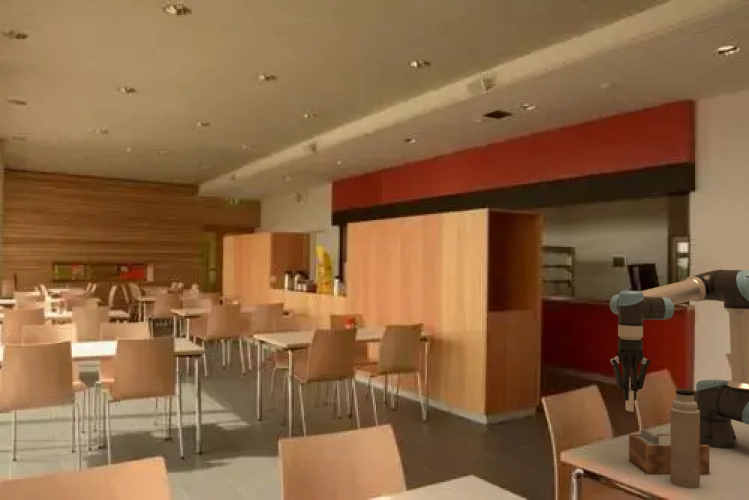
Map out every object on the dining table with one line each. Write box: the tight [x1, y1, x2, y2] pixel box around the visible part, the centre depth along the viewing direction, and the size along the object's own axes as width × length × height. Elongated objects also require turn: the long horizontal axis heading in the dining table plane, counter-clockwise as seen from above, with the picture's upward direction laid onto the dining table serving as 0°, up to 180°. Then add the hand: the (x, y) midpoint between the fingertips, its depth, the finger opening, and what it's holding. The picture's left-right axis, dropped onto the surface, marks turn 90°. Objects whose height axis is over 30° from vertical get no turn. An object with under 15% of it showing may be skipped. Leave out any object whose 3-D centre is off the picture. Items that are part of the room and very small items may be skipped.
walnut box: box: [628, 433, 710, 476], centre depth 200 cm, size 20×13×9 cm, turn 92°
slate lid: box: [635, 428, 671, 445], centre depth 200 cm, size 16×10×4 cm, turn 92°
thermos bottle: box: [669, 389, 701, 489], centre depth 186 cm, size 8×8×28 cm
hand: (629, 410), depth 199 cm, fingers closed
